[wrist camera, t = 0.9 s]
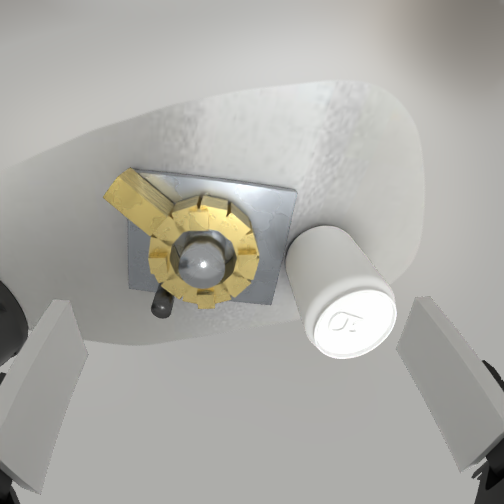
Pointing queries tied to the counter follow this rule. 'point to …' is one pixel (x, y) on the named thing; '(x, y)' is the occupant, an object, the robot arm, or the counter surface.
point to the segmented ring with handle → (181, 220)
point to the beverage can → (339, 293)
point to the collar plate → (243, 197)
